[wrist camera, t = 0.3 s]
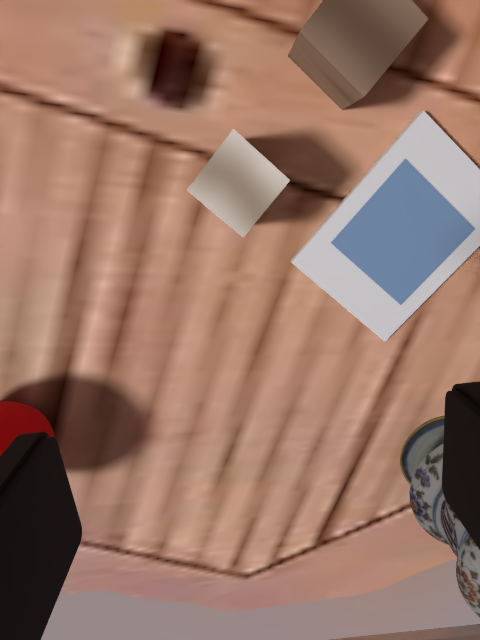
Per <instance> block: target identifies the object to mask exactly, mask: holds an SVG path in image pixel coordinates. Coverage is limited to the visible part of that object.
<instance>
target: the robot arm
mask: <svg viewBox="0 0 480 640" xmlns="http://www.w3.org/2000/svg"><path fill="white" fill-rule="evenodd" d="M442 491H443V494H444V497H445V499H446V501H447V503H448V504H449V506H450V507H451V509H452V510H453V511H454V513H455V514H456V516H457V517H458V519H459V520H460V522H461V523H462V525H463V526H464V528H465V529H466V531H467V532H468V533H469V535H470V536H471V538H472V539H473V541H474V542H475V544H476V545H477V547H478V548H479V550H480V382H471V383H462V384H455V385H454V386H453V388H452V391H448V392H447V393H446V397H445V418H444V442H443V465H442ZM81 537H82V527H81V522H80V519H79V515H78V512H77V509H76V505H75V502H74V498H73V495H72V491H71V488H70V485H69V481H68V478H67V474H66V471H65V467H64V464H63V460H62V457H61V454H60V450H59V447H58V443H57V441H56V439H55V438H54V437H49V435H48V434H47V433H46V432H35V433H27V434H20V435H18V436H17V437H16V438H15V439H14V440H13V442H12V443H11V444H10V445H9V446H8V448H7V449H6V450H5V451H4V453H3V454H2V455H1V456H0V640H41V637H42V635H43V632H44V630H45V628H46V625H47V623H48V620H49V618H50V615H51V613H52V610H53V608H54V605H55V603H56V601H57V598H58V596H59V593H60V591H61V588H62V586H63V583H64V581H65V579H66V576H67V574H68V571H69V569H70V566H71V564H72V561H73V559H74V556H75V554H76V552H77V549H78V547H79V544H80V541H81ZM332 640H480V624H476V625H466V626H457V627H447V628H439V629H438V628H437V629H428V630H418V631H408V632H398V633H388V634H379V635H370V636H360V637H350V638H341V639H332Z"/></svg>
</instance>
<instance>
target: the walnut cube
mask: <svg viewBox="0 0 480 640" xmlns="http://www.w3.org/2000/svg"><path fill="white" fill-rule="evenodd" d="M427 20H428V18H427V16H426V15H425V14H424V13H423V12H422V11H421V10H420V9H419V7H418V6H417V5H416V4H415V3H414V2H413V1H412V0H323V1H322V3H321V4H320V5H319V7H318V8H317V9H316V11H315V12H314V13H313V15H312V16H311V17H310V19H309V20H308V21H307V23H306V24H305V25H304V27H303V28H302V29H301V31H300V32H299V34H298V36H297V38H296V40H295V42H294V44H293V46H292V48H291V51H290V53H289V55H288V57H289V58H290V59H291V60H292V61H293V62H294V63H295V64H296V65H297V66H298V67H299V68H300V69H301V70H302V71H303V72H304V73H305V74H306V75H307V76H308V77H309V78H310V79H311V80H312V81H313V82H314V83H315V84H316V85H317V86H319V87H320V88H321V89H322V90H323V91H324V92H325V93H326V94H327V95H328V96H329V97H330V98H331V99H332V100H333V101H334V102H335V103H336V104H337V105H338V106H339V107H340V108H341V109H342V110H343V109H345V108H346V107H348V106H350V105H352V104H353V103H355V102H357V101H358V100H360V99H362V98H363V97H365V95H366V94H367V93H368V92H369V90H370V89H371V88H372V87H373V86H374V84H375V83H376V82H377V81H378V80H379V78H380V77H381V76H382V75H383V74H384V72H385V71H386V70H387V69H388V67H389V66H390V65H391V64H392V63H393V61H394V60H395V59H396V58H397V57H398V55H399V54H400V53H401V52H402V51H403V49H404V48H405V47H406V46H407V44H408V43H409V42H410V41H411V40H412V38H413V37H414V36H415V35H416V34H417V32H418V31H419V30H420V29H421V28H422V26H423V25H424V24H425V23H426V22H427Z"/></svg>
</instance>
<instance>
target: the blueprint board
mask: <svg viewBox="0 0 480 640" xmlns="http://www.w3.org/2000/svg"><path fill="white" fill-rule="evenodd" d="M479 246H480V169H479V168H478V167H477V166H476V165H475V164H474V163H473V162H472V161H471V160H470V159H469V158H468V157H467V156H466V154H465V153H464V152H463V151H462V150H461V149H460V148H459V147H458V146H457V145H456V144H455V143H454V142H453V141H452V140H451V139H450V138H449V137H448V135H447V134H446V133H445V132H444V131H443V130H442V129H441V128H440V127H439V126H438V125H437V124H436V123H435V122H434V121H433V120H432V119H431V118H430V117H429V115H428V114H427V113H426V112H425V111H421V112H419V113H418V114H417V115H416V117H415V118H414V119H413V120H412V121H411V122H410V123H409V125H408V126H407V127H406V128H405V129H404V130H403V131H402V133H401V134H400V135H399V136H398V137H397V138H396V140H395V141H394V142H393V143H392V144H391V145H390V146H389V148H388V149H387V150H386V151H385V152H384V153H383V154H382V156H381V157H380V158H379V159H378V160H377V161H376V163H375V164H374V165H373V166H372V167H371V168H370V169H369V171H368V172H367V173H366V174H365V175H364V176H363V178H362V179H361V180H360V181H359V182H358V183H357V184H356V186H355V187H354V188H353V189H352V190H351V191H350V192H349V194H348V195H347V196H346V197H345V198H344V199H343V201H342V202H341V203H340V204H339V205H338V206H337V207H336V209H335V210H334V211H333V212H332V213H331V214H330V215H329V217H328V218H327V219H326V220H325V221H324V222H323V224H322V225H321V226H320V227H319V228H318V229H317V230H316V232H315V233H314V234H313V235H312V236H311V237H310V238H309V240H308V241H307V242H306V243H305V244H304V245H303V247H302V248H301V249H300V250H299V251H298V252H297V253H296V255H295V256H294V257H293V258H292V259H291V260H290V261H291V263H293V264H294V265H295V266H296V267H297V268H298V269H300V270H301V271H302V272H303V273H304V274H306V275H307V276H308V277H309V278H310V279H311V280H313V281H314V282H315V283H316V284H317V285H318V286H320V287H321V288H322V289H323V290H324V291H326V292H327V293H328V294H329V295H330V296H331V297H333V298H334V299H335V300H336V301H337V302H338V303H340V304H341V305H342V306H343V307H344V308H346V309H347V310H348V311H349V312H350V313H351V314H353V315H354V316H355V317H356V318H357V319H358V320H360V321H361V322H362V323H363V324H364V325H366V326H367V327H368V328H369V329H370V330H371V331H373V332H374V333H375V334H376V335H377V336H378V337H380V338H381V339H382V340H383V341H384V342H385V341H386V340H387V339H388V338H389V337H390V336H391V335H392V334H393V333H394V332H395V331H396V330H397V329H398V328H399V327H400V326H401V325H402V324H403V323H404V322H405V321H406V320H407V319H408V318H409V317H410V316H411V315H412V314H413V313H414V312H415V311H416V310H417V309H418V308H419V307H420V306H421V305H422V304H423V303H424V302H425V301H426V300H427V299H428V298H429V297H430V296H431V295H432V294H433V293H434V292H435V291H436V290H437V288H438V287H439V286H440V285H441V284H442V283H443V282H444V281H445V280H446V279H447V278H448V277H449V276H450V275H451V274H452V273H453V272H454V271H455V270H456V269H457V268H458V267H459V266H460V265H461V264H462V263H463V262H464V261H465V260H466V259H467V258H468V257H469V256H470V255H471V254H472V253H473V252H474V251H475V250H476V249H477V248H478V247H479Z"/></svg>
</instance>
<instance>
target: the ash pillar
mask: <svg viewBox="0 0 480 640" xmlns="http://www.w3.org/2000/svg"><path fill="white" fill-rule="evenodd" d="M289 181H290V180H289V179H288V178H287V177H286V176H285V175H284V174H283V173H282V172H281V171H279V170H278V169H277V168H276V167H275V166H274V165H273V164H272V163H271V162H270V161H268V160H267V159H266V158H265V157H264V156H263V155H262V154H261V153H260V152H259V151H257V150H256V149H255V148H254V147H253V146H252V145H251V144H250V143H249V142H247V141H246V140H245V139H244V138H243V137H242V136H241V135H240V134H239V133H238V132H236V131H235V130H234V129H233V130H232V131H231V133H230V134H229V135H228V137H227V138H226V139H225V141H224V142H223V143H222V144H221V146H220V147H219V148H218V150H217V151H216V152H215V154H214V155H213V156H212V158H211V159H210V160H209V162H208V163H207V164H206V166H205V167H204V168H203V169H202V171H201V172H200V173H199V175H198V176H197V177H196V179H195V180H194V181H193V183H192V184H191V185H190V187H189V188H188V189H187V191H188V192H189V193H190V194H192V195H193V196H194V197H195V198H196V199H198V200H199V201H200V202H201V203H202V204H204V205H205V206H206V207H207V208H208V209H210V210H211V211H212V212H213V213H214V214H215V215H217V216H218V217H219V218H220V219H221V220H223V221H224V222H225V223H226V224H227V225H229V226H230V227H231V228H232V229H233V230H235V231H236V232H237V233H238V234H239V235H241V236H242V237H244V236H245V235H246V234H247V232H248V231H249V230H250V229H251V227H252V226H253V225H254V224H255V223H256V221H257V220H258V219H259V218H260V217H261V215H262V214H263V213H264V212H265V210H266V209H267V208H268V207H269V206H270V204H271V203H272V202H273V201H274V200H275V198H276V197H277V196H278V195H279V193H280V192H281V191H282V190H283V189H284V187H285V186H286V185H287V184H288V182H289Z"/></svg>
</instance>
